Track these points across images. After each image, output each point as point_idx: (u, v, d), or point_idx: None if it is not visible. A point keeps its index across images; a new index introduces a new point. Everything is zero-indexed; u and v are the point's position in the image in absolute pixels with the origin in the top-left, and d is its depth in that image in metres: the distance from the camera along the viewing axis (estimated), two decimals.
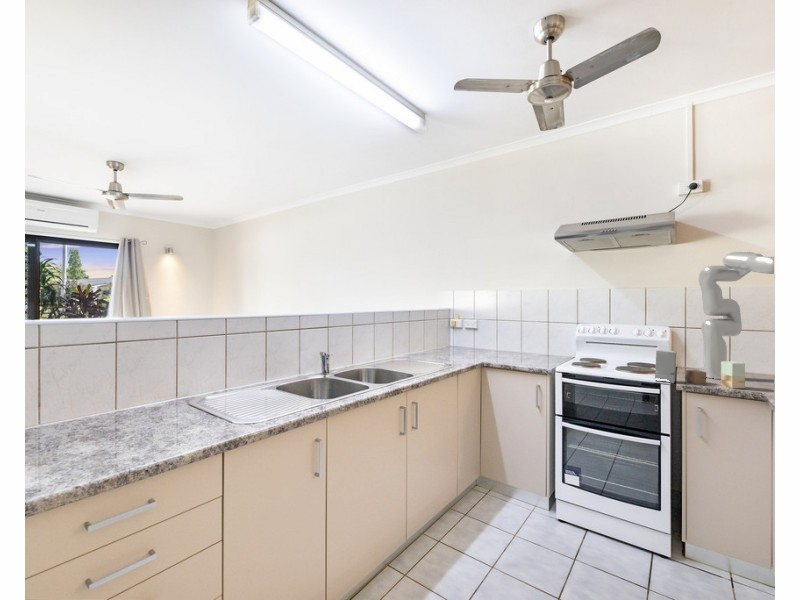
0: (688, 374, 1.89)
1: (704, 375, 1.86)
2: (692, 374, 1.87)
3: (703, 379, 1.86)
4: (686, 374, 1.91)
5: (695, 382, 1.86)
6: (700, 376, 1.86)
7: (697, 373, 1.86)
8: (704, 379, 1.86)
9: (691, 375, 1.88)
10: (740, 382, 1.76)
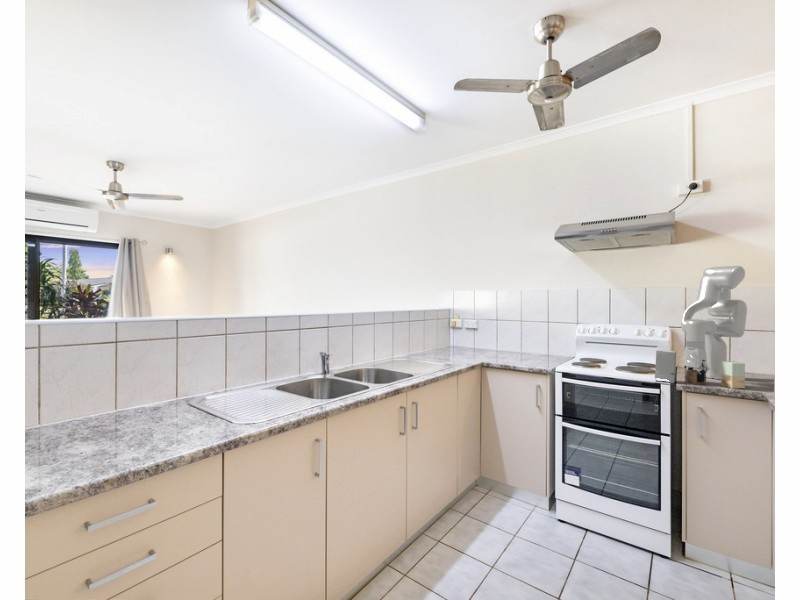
0: (688, 374, 1.89)
1: (704, 375, 1.86)
2: (692, 374, 1.87)
3: None
4: (685, 374, 1.91)
5: (695, 382, 1.86)
6: None
7: (697, 373, 1.86)
8: (704, 379, 1.86)
9: (691, 374, 1.88)
10: (740, 382, 1.76)
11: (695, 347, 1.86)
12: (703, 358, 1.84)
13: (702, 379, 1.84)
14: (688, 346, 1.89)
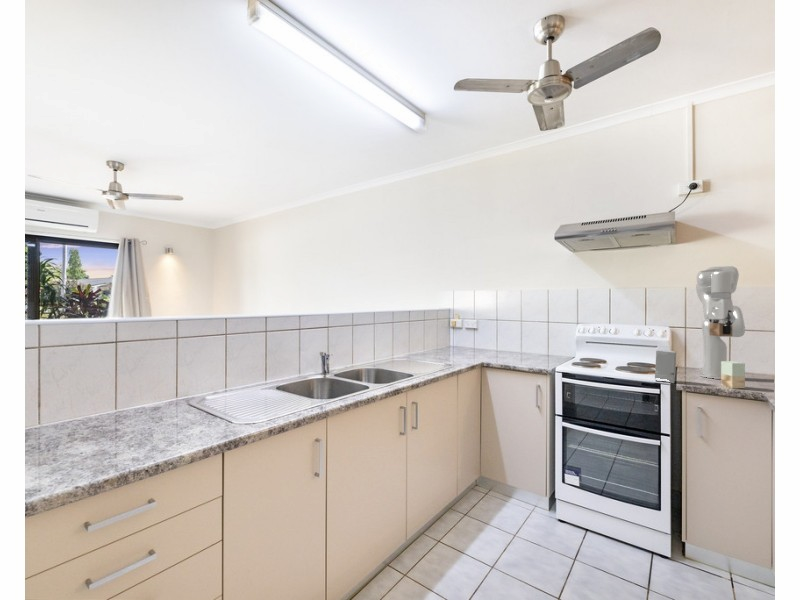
0: (713, 327, 1.82)
1: None
2: (717, 326, 1.80)
3: None
4: (710, 327, 1.84)
5: (720, 334, 1.79)
6: None
7: (722, 325, 1.79)
8: None
9: (715, 327, 1.81)
10: (740, 382, 1.76)
11: (721, 298, 1.79)
12: (729, 309, 1.77)
13: (728, 331, 1.78)
14: (713, 298, 1.82)
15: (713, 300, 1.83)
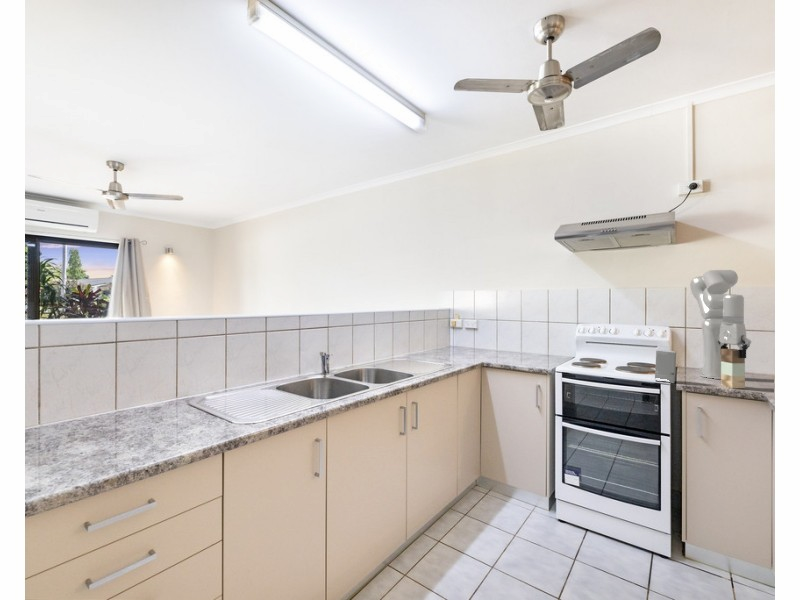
0: (725, 353, 1.79)
1: None
2: (729, 353, 1.77)
3: None
4: (722, 354, 1.81)
5: (733, 361, 1.76)
6: None
7: (735, 351, 1.76)
8: (742, 358, 1.76)
9: (728, 353, 1.78)
10: (740, 382, 1.76)
11: (733, 322, 1.76)
12: (742, 334, 1.74)
13: (744, 355, 1.73)
14: (725, 322, 1.79)
15: (725, 324, 1.80)
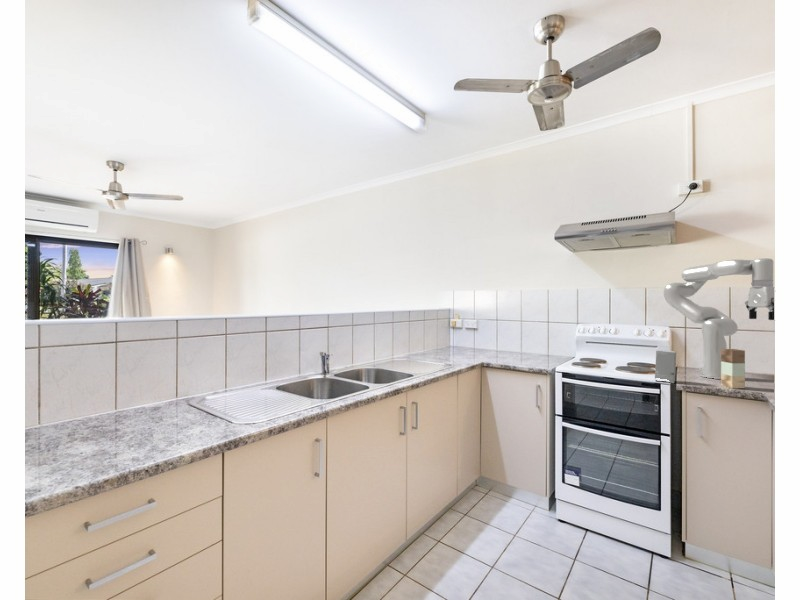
0: (725, 353, 1.79)
1: (743, 354, 1.76)
2: (729, 353, 1.77)
3: (741, 357, 1.76)
4: (722, 354, 1.81)
5: (733, 361, 1.76)
6: (738, 355, 1.76)
7: (735, 352, 1.76)
8: (743, 358, 1.76)
9: (728, 353, 1.78)
10: (740, 382, 1.76)
11: (763, 285, 1.79)
12: (772, 296, 1.77)
13: None
14: (755, 285, 1.82)
15: (754, 288, 1.83)
